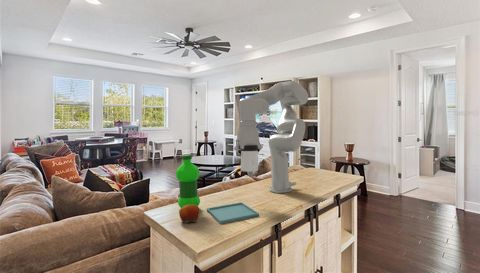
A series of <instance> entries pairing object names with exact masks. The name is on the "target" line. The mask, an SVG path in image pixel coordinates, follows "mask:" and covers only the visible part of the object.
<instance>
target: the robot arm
mask: <svg viewBox="0 0 480 273" xmlns="http://www.w3.org/2000/svg"><path fill="white" fill-rule="evenodd" d="M308 101H309V95H308V92H307V90H306V88H304V87H303V86H302V85H301V84H300V83H299V82H297V81H295V80H288V81H281V82H277V83H276V84H274V85H273V86H271V87H270V88H268V89H266V90H262V91H261V92H258V93H255V94H254V95H250V96H249V97H246V98H240V100H239V102H238V108H239V109H238V111H239V127H238V129H237V134H236V135H237V136H236V145H235V146H234V147H233V150H234V152H237V154H239V155H240V156H241V149H244V146H245V145H258V150H257V151H258V153H260V151H261V150H262V149H263V145H262V144H261V143H260V136H259V135H260V134H259V130H258V128H257V126H258V125H259V121H256V116H257V115H263V114H266V113H267V112H269V109H270V106H272V105H275V104H277V103H278V102H280V106H281V110H282V112H281V116H280V119H279V121H278V123H277V127H276V131H277V133H275V134H272V135H270V137H269V138H268V147H269V150H270V151H269V152H270V164H271V165H270V169H271V170H270V171H271V172H270V173H271V186H270V187H268V191H269V192H270V193H275V194H287V193H290V192H292V191H293V188H292V186H296V185H297V182H296V181H293V182H291V181H290V180H289V178H290V175H289V172H290V171H289V158H288V155H287V153H286V152H291V153H294V152H297V151H298V150H299V149H300V147H301V144H302V141H303V138H304V135H305V132H306V122H305V121H304V120H303V119H302V118H297V112H296V110H295V109H294V108H293V106H298V105H299V106H300V105H305V104H307V102H308Z"/></svg>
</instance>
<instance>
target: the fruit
mask: <svg viewBox="0 0 480 273" xmlns="http://www.w3.org/2000/svg"><path fill="white" fill-rule="evenodd" d="M200 210H201V209H200V207H199V205H198V206H197V205H194V204H188V205H185V206H183V207H182V208H179V210H178V212H179V213H178V214H179V215H178V216H179V217H180V221H182V223H185V224H187V225H188V224H189V223H191V222H192V223H193V222H195V223H197V220H198V218H199V215H200Z"/></svg>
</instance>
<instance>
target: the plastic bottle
mask: <svg viewBox="0 0 480 273" xmlns="http://www.w3.org/2000/svg"><path fill="white" fill-rule="evenodd" d="M192 159H193V157H192V154H183V155H181V160H182V161H183V163H182V164H181V165H179V167H178V168H176V171H175V177H176V178H175V179H177V180H178V185H179V197H178V200H177V204H178V206H179V209H181V208H182V207H183V206H185V205H188V204H194V205H197V206H198V207H199V205H200V203H201V199H200V197H199V193H198V179H199V178H200V170H199V168H198V167H197V166H196V165H195V164H194V163H192V161H191V160H192Z"/></svg>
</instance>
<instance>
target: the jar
mask: <svg viewBox="0 0 480 273" xmlns="http://www.w3.org/2000/svg"><path fill="white" fill-rule="evenodd" d="M257 150H258V145H245V146H244V149H240V151H241V155H240V172H248V173H250V172H258V171H259V152H258V151H257Z"/></svg>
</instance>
